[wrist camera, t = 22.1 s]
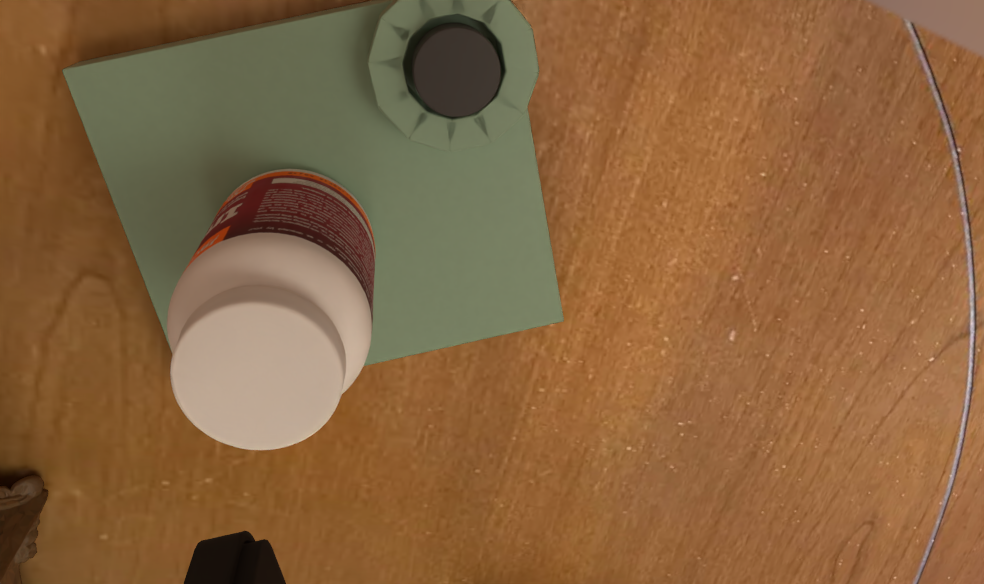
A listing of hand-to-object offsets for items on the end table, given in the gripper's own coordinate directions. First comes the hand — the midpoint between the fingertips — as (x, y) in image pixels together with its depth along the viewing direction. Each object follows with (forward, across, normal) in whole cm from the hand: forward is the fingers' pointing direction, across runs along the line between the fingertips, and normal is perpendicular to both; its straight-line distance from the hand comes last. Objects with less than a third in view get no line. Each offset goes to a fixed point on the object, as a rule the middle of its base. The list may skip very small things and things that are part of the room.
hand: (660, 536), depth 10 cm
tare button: (+23, +1, -2) cm, 23 cm away
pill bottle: (+24, +8, +3) cm, 26 cm away
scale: (+26, +6, +2) cm, 27 cm away
